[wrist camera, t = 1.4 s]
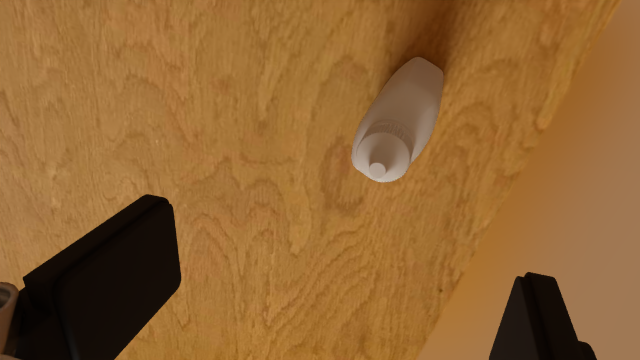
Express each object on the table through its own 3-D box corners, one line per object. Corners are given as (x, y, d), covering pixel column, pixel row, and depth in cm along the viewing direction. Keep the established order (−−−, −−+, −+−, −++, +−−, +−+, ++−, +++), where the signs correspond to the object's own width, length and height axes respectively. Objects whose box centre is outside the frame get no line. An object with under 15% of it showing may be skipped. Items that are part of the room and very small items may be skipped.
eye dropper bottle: (462, 107, 26) (467, 188, 16) (385, 144, 29) (346, 235, 18) (431, 46, 25) (414, 90, 15) (354, 90, 28) (295, 154, 17)
